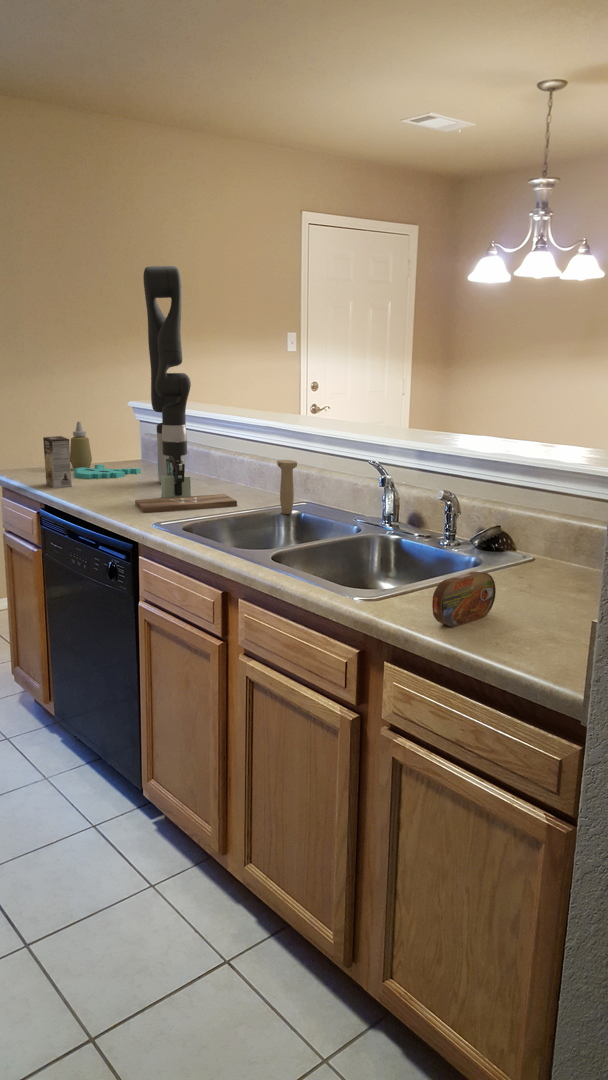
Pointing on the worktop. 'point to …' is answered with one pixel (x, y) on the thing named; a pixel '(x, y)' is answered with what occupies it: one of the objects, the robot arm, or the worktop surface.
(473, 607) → the tin
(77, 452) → the squeeze bottle
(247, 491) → the worktop surface
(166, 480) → the block
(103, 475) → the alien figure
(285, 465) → the handle
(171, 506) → the walnut board
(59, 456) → the coffee box
